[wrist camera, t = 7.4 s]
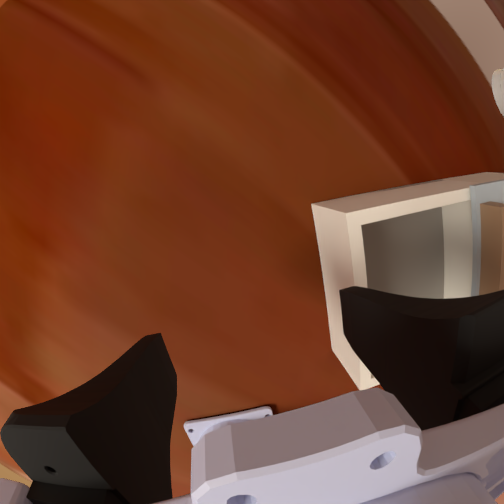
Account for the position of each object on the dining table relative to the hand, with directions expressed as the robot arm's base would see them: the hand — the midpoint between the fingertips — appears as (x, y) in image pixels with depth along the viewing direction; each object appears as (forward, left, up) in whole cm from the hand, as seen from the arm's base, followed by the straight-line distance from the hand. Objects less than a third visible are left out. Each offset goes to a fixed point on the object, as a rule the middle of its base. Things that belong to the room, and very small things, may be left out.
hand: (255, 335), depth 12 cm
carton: (-3, -16, -10) cm, 19 cm away
